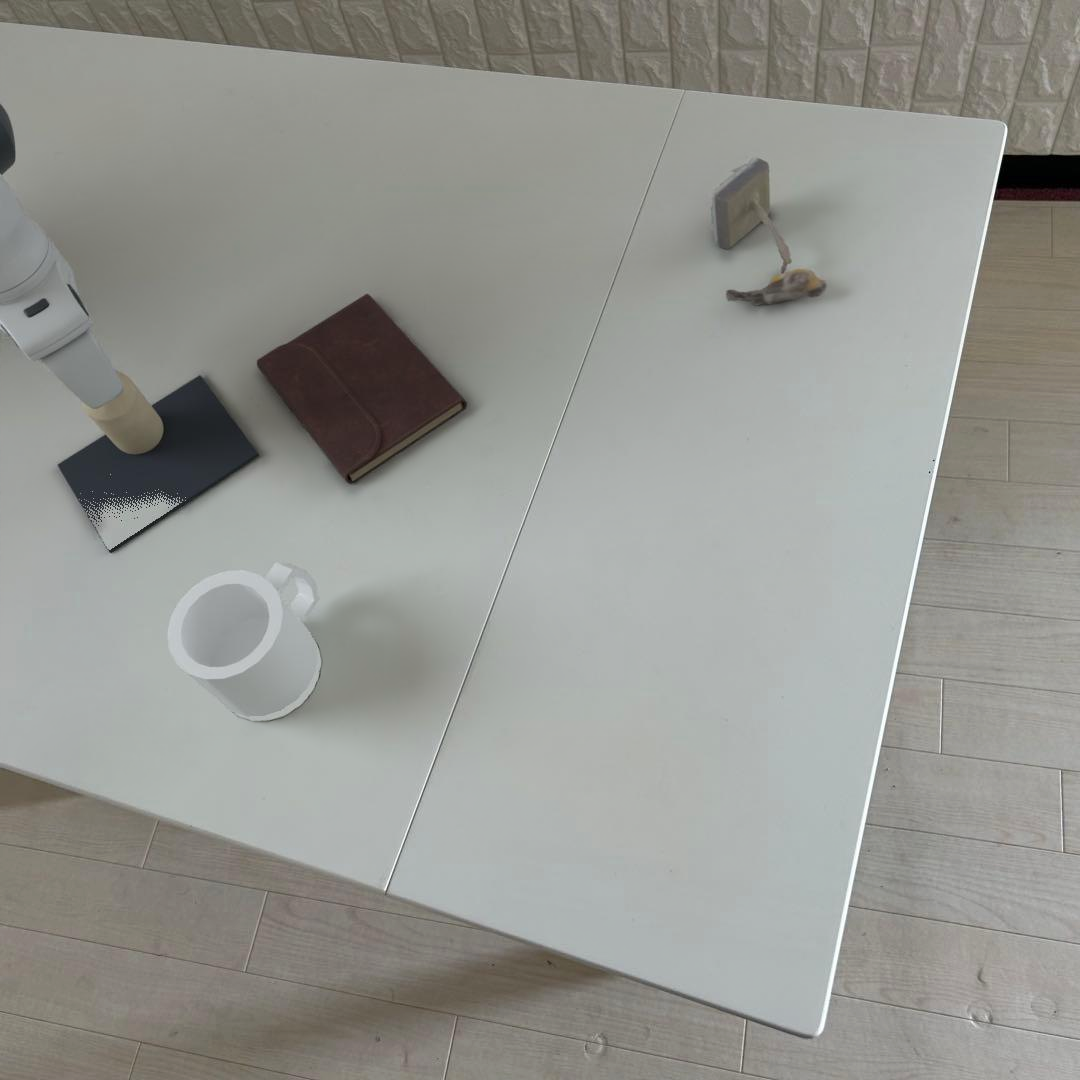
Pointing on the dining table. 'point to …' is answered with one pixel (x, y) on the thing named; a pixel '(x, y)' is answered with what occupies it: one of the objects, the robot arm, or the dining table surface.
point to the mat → (163, 457)
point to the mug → (247, 638)
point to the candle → (128, 420)
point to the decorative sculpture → (738, 213)
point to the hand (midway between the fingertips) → (96, 374)
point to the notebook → (360, 387)
